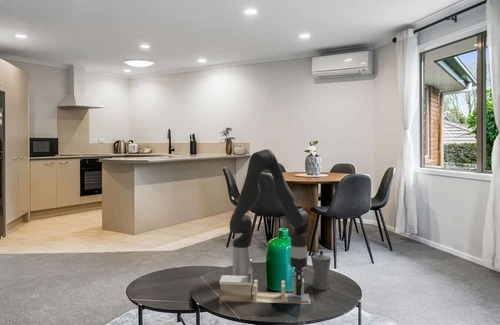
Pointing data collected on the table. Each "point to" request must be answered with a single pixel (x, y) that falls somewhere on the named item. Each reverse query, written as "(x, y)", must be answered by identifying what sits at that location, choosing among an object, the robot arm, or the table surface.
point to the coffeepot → (320, 271)
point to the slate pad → (297, 298)
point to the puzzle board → (253, 294)
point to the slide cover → (237, 279)
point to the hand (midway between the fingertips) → (298, 292)
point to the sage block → (295, 287)
